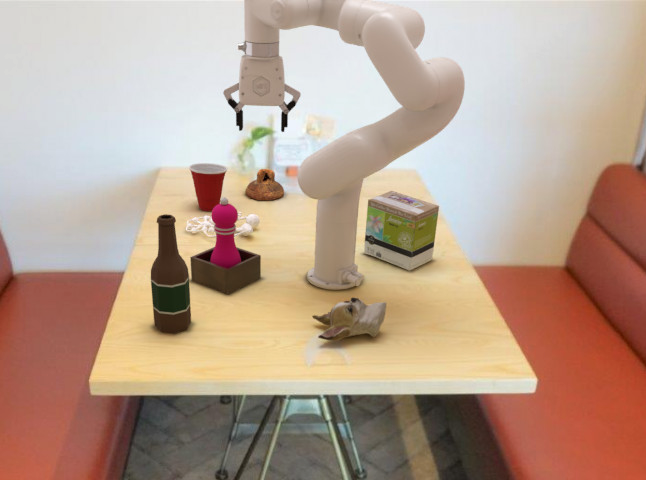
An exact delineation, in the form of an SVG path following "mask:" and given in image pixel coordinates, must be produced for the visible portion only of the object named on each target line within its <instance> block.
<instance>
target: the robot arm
mask: <svg viewBox="0 0 646 480" xmlns="http://www.w3.org/2000/svg"><path fill="white" fill-rule="evenodd" d="M243 2H244V3H243V4H244V5H243V6H244V8H243V9H244V41H243V42H241V43H239V42H238V43H237V47H238V48H237V50H238V51H242V52H243V53H244V54H242V56H240V63H239V76H238V82H236V83H234V84H233V85H231V86H229V87H228V88H225V89H224V90H223V91H222V92H223V93H222V94H223V96H224V98H225V100H226V101H227V104H228V105H229V106H230V107H231V108H232V109H233V110H234V112H235V123H236V124H235V126H236V127H238V131H239V132H241V131H243V129H244V110H243V108H244V107H245V106H252V107H253V106H256V107H279V108H280V110H281V114H280V116H281V117H280V132H282V133H285V130H286V129H285V128H288V125H289V123H288V120H289V113H290V112H291V111H292V110H293V109H294V108H295V107H296V106H297V103H298V101H299V100H300V98H301V95H302V94H301V91H299V90H297V89H295V88H294V87H292V86H290V85H288V84H287V83H286V82H285V81H286V79H285V66H284V60H283V56H281V55H280V30H282V31H283V30H284V31H289V30H293V29H297V28H302V27H308V26H316V27H322V28H326V29H329V30H334V31H337V32H338V35H339V37H340V39H341V41H343V42H344V43H345V44H349V45H353V46H358V47H363V48H364V50H365V52H366V54H367V56H368V58H369V60H370V62H371V63H372V65H373V66H374V68H375V70H376V71H377V73H378V75H379V76H380V77H381V79H382V80H383V82H384V83H385V85H386V86H387V88H388V90H389V92H390V93H391V94H392V96H393V97H394V99H395V100H396V101H397V103H399V105H400V106H401V107H399V108H397V109H396V110H395V111H394V112H392V113H390V114H388V115H386V116H385V117H383V118H381V119H379V120H378V121H375V122H373V123H370V124H367V125H364V126H361V127H359V128H356V129H354V130H352V131H350V132H349V131H348V132H347V133H346V134H344V135H341V136H340V137H338V138H337V139H335V140H334V141H331V142H330V143H328V144H327V145H325V146H324V147H322V148H320V149H318V150H317V151H316V152H314V153H312V154H310V155H309V156H307V157H306V158H305V159H304V160H303V161H302V162H301V163H300V166H299V168H298V171H297V184H298V186H299V189H300V190H301V192H302V193H303V194H304V195H305V196H307V197H308V198H310V199H313V200H317V201H316V213H315V215H316V216H315V235H314V236H315V237H314V238H315V239H314V265H313V267H311V268H310V269H309V270H308V271H307V275H306V277H307V281H308V282H309V284H311V285H313V286H315V287H317V288H321V289H325V290H334V291H336V290H337V291H338V290H340V291H341V290H347V289H350V288H354V287H355V286H356V287H359V286H360V285H361V284H362V281H363V280H364V279H365V275H364V274H362V273H360V272H359V271H358V268H359V267H358V264H357V263H355V261H356V247H357V233H358V220H359V219H358V218H359V208H360V207H359V206H360V198H361V192H362V187H363V184H364V179H366V178H368V177H370V176H372V175H374V174H376V173H378V172H380V171H381V170H383V169H384V168H386V167H387V166H389V165H391V163H393V162H394V161H396V160H397V159H399V158H401V157H402V156H404V155H406V154H408V153H410V152H411V151H413V150H414V149H416V148H419V147H420V146H421V145H423V144H425V143H426V142H428V141H430V140H432V139H433V138H434V137H436V136H437V135H438V134H439V133H441V132H442V131H443V130H444V129H445V128H446V127H447V126H448V125H450V123H451V121H453V119H454V118H455V116H456V115H457V113H458V111H459V109H460V108H461V105H462V103H463V98H464V95H465V87H466V86H465V84H466V83H465V82H466V81H465V75H464V71H463V69H462V67H461V66H460V65H459V63H457V61H455V60H454V59H451V58H449V57H443V56H439V57H438V56H437V57H433V58H432V57H431V58H428V59H426V60H422V58H421V57H420V55H419V53H418V52H417V51H416V49H417V48H418V47H419V46H420V45H421V43H422V41H423V40H424V36H425V33H426V26H425V21H424V18H423V17H422V15H421V13H419V12H418V11H416V10H415V9H414V8H411V7H408V6H404V5H399V4H393V3H389V2H388V3H387V2H383V1H377V0H243ZM235 92H238V102H237V101H236V100H235V99H234V98H233V96H232V94H233V93H235ZM286 93H287V94H289V95H290V96H292V99H291V100H290V101H289V102H288V103H287V102H286V101H285V95H286Z"/></svg>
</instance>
